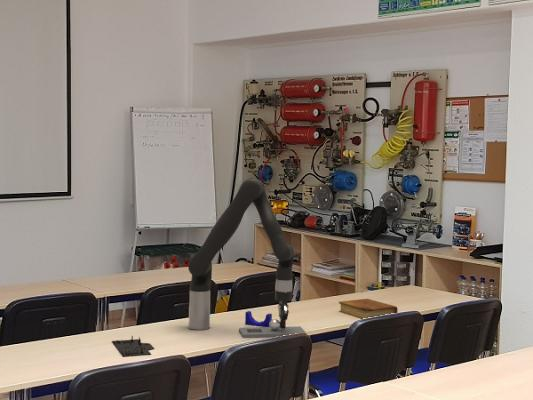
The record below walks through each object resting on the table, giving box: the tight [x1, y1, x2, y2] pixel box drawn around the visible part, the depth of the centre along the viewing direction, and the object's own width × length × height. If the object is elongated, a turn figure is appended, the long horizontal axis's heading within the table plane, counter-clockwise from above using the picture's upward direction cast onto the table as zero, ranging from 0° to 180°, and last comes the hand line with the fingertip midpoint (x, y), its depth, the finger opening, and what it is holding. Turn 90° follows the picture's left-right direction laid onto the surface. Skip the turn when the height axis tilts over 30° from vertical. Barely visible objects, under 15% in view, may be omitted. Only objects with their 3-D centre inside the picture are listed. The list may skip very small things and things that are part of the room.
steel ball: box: [269, 318, 281, 330], centre depth 367 cm, size 5×5×5 cm
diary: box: [338, 298, 399, 320], centre depth 411 cm, size 23×19×6 cm
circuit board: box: [111, 335, 155, 358], centre depth 339 cm, size 25×14×3 cm, turn 21°
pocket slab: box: [238, 325, 307, 339], centre depth 367 cm, size 28×13×2 cm, turn 99°
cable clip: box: [244, 310, 273, 327], centre depth 383 cm, size 12×4×6 cm, turn 65°
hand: (282, 328), depth 368 cm, fingers closed
